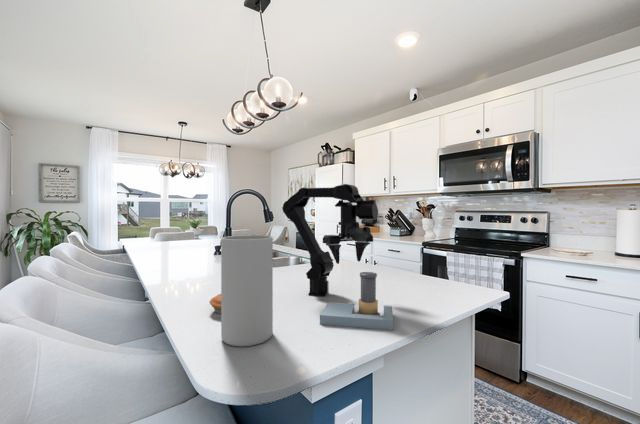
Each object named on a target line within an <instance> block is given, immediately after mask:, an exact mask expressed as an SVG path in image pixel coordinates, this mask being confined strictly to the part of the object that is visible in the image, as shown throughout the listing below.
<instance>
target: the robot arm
mask: <svg viewBox="0 0 640 424" xmlns="http://www.w3.org/2000/svg"><path fill="white" fill-rule="evenodd" d="M310 198H333V199H337V200H339V201H338V202H337V203H336V204H334V206H335V207H336V208H340V221H338V226H340V232H338V235H337V234H324V235H323V237H322V243H323V244H325V245H326V246H328V248H329V250H330V251H331V253H330V251H324V250H323V249H322V248H321V246H320V244H319V242H318V240H317V239H316V237H315V234H314V233H313V231H312V229H311V227H310V224H309V223H308V221H307V220H306V211H305V207H306V206H307V205H308V202H309V200H310ZM376 202H377V201H376V199H368V200H364V199H363V197H362V196H361V195H360V193H359V188H358V187H357V186H356V185H353V184H347V183H343V184H338V185H334V186H331V187H305V186H304V187H301V188H299V189H298V191H297V192H295V193H294V194H293V195H291V196H290V197H289V198H288V199H287V200H286V201H284V202H283V205H282V207H281V208H282V212H283V214H284V215H285V216H286V217H287V219H288V220H289V221H291V222H292V224H294V226H295V229H296V230H297V232H298V234H299V236H300V237H301V240H302V242H303V245H304V246H305V248H306V249H307V252H308V254H309V263H310V266H311V267H310V269H309V270H308V271H307V272H306V273H305V275H306V278H307V279H308V280H309V292H308V294H307V295H308V296H320V297H326V295H327V294H328V293H329V289H330V288H329V287H330V285H329V280H328V277H330V274H331V272H332V271H333V270H334V266H335V265H334V261H335V263H336V264H337V265H339V264H340V248H341V247H342V244H340V243H341V242H354V244H355V253H356V255H355V256H356V261H357V262H361V259H362V257H363V255H364V251H365V250H366V247H367V246H368V245H371V243H373V242H374V236H373V234H372V231H371V230H372V229H371V227H370V226H363V227H360V223H359V221H357V219H359V220H377V218H378V216H379V209H378V206H377V203H376ZM353 203H354V204H353ZM331 254H332V256H333V258H334V259H333V258H332V256H331Z"/></svg>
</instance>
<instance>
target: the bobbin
mask: <svg viewBox="0 0 640 424" xmlns="http://www.w3.org/2000/svg"><path fill="white" fill-rule="evenodd" d="M359 277H360V298H359V299H358V310H357V312H356V314H364V315H378V316H381V313H380V312H379V301H378V299H377V296H376V295H377V294H376V293H377V291H376V290H377V281H376V280H377V277H378V273H377V272H374V271H373V272H372V271H361V272H359Z"/></svg>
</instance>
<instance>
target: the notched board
mask: <svg viewBox="0 0 640 424" xmlns="http://www.w3.org/2000/svg"><path fill="white" fill-rule="evenodd" d="M393 312H394V310H393V306H392V305H383V315H380V316H378V315H364V314H357V313H355V303H348V302H347V303H346V302H345V303H343V302H333V301H327V303H326V304H325V306H324V307H323V309H322V311H321V312H320V314H319V325H329V326H341V327H353V328H367V329H379V330H390V331H391V330H394V313H393Z"/></svg>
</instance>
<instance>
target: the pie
mask: <svg viewBox="0 0 640 424" xmlns="http://www.w3.org/2000/svg"><path fill="white" fill-rule="evenodd" d="M209 304H210V305H211V307H213V309H214V310H215V312H216V314H218V315H220V316H221V293H219V294H217V295H216V296H214V297H212V298H211V299H210V300H209Z"/></svg>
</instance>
